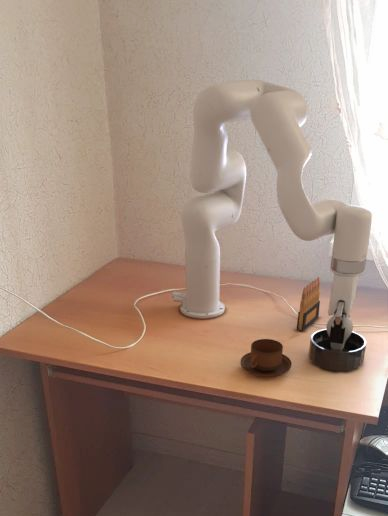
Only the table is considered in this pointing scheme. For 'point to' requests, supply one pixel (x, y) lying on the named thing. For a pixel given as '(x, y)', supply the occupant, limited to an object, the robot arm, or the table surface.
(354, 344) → the bowl
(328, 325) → the lightbulb
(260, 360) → the cup and saucer
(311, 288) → the ammunition clip
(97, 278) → the table surface
